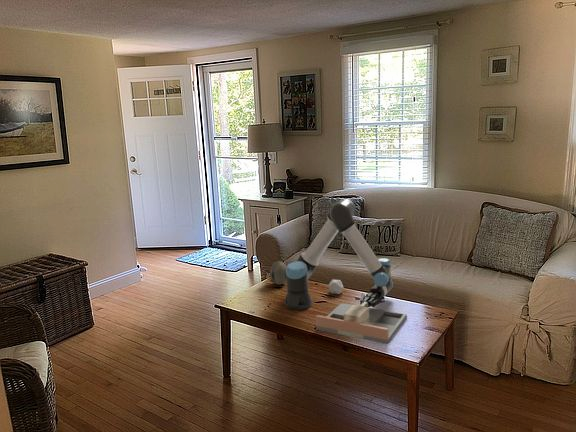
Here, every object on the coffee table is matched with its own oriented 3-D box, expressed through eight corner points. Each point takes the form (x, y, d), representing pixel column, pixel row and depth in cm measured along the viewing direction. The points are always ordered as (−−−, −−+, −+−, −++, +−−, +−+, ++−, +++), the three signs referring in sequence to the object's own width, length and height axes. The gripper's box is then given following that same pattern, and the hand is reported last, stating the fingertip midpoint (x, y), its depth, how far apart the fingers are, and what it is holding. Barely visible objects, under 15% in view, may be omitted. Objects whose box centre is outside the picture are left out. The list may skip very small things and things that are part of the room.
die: (345, 292, 272) (338, 277, 275) (345, 290, 264) (338, 275, 267) (333, 298, 272) (326, 283, 275) (333, 296, 263) (325, 281, 266)
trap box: (316, 329, 225) (315, 316, 224) (341, 306, 250) (341, 294, 249) (387, 344, 207) (387, 329, 205) (406, 317, 232) (406, 304, 230)
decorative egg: (292, 283, 290) (291, 260, 287) (280, 288, 282) (278, 265, 278) (279, 279, 298) (277, 257, 295) (266, 285, 289) (265, 262, 286)
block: (344, 329, 219) (343, 314, 217) (353, 319, 229) (353, 304, 227) (360, 332, 215) (359, 316, 213) (369, 322, 225) (368, 307, 223)
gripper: (389, 301, 243) (374, 318, 223) (366, 297, 250) (349, 314, 230) (389, 287, 241) (373, 304, 222) (366, 284, 248) (348, 300, 228)
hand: (361, 309), depth 226 cm, fingers closed
